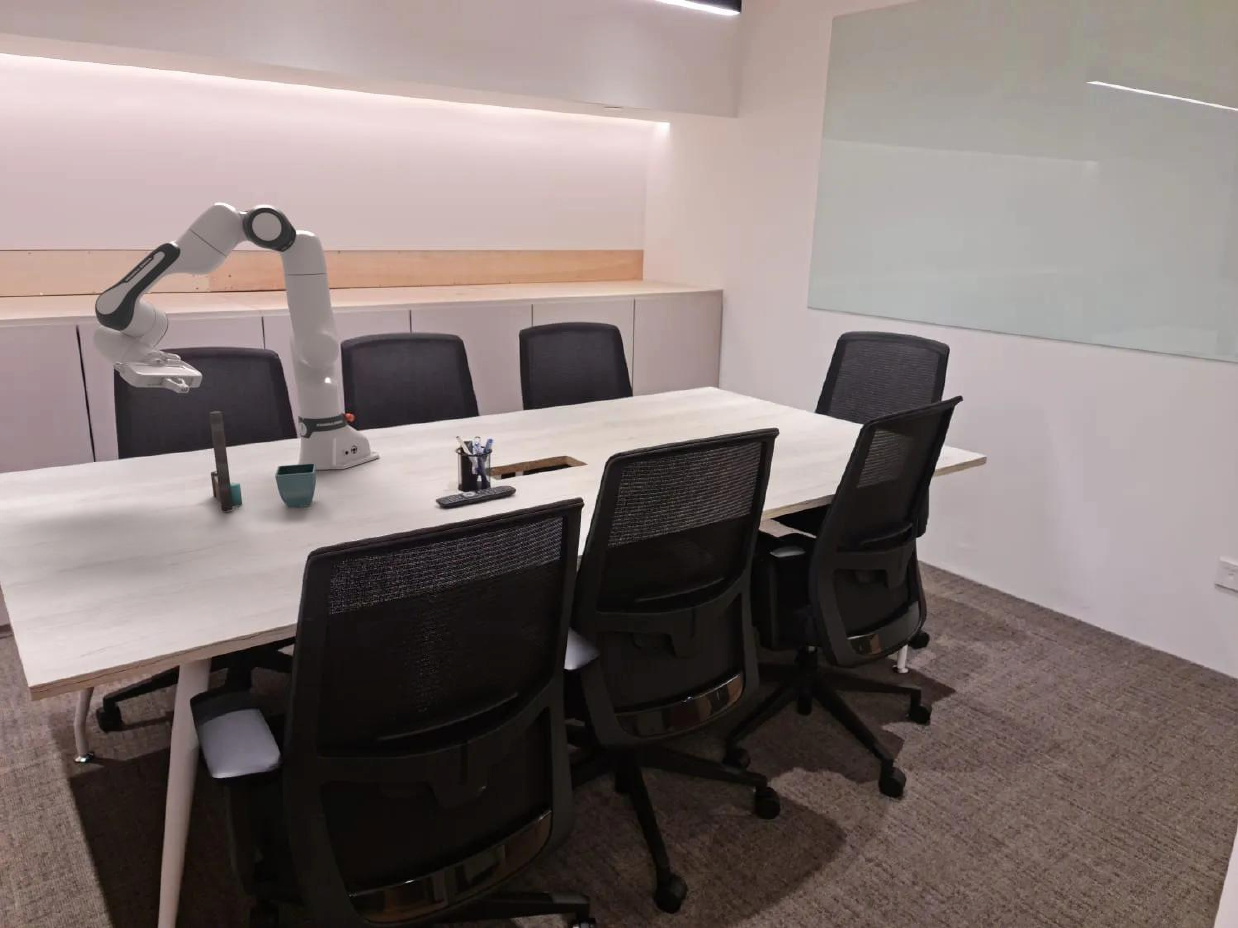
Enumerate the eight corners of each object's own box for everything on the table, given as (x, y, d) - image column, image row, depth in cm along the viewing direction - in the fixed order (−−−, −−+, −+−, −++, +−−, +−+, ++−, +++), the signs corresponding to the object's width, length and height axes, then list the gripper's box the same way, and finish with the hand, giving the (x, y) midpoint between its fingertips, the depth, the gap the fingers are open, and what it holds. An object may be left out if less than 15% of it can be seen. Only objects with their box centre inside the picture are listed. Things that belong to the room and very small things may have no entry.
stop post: (238, 501, 218) (236, 482, 217) (244, 504, 216) (242, 484, 215) (226, 504, 216) (224, 484, 214) (232, 507, 214) (230, 487, 213)
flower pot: (278, 511, 211) (274, 475, 209) (281, 500, 219) (278, 465, 217) (317, 508, 213) (314, 472, 211) (319, 497, 221) (315, 462, 219)
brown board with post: (213, 495, 221) (202, 403, 215) (225, 494, 222) (213, 402, 216) (222, 512, 209) (210, 414, 202) (234, 510, 210) (222, 413, 204)
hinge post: (221, 493, 225) (218, 470, 223) (225, 495, 223) (222, 472, 222) (211, 495, 223) (208, 472, 221) (216, 497, 221) (213, 474, 220)
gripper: (113, 351, 214) (152, 378, 210) (182, 355, 233) (219, 379, 229) (105, 375, 215) (144, 402, 211) (174, 376, 234) (211, 401, 230)
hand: (184, 390), depth 220 cm, fingers closed
